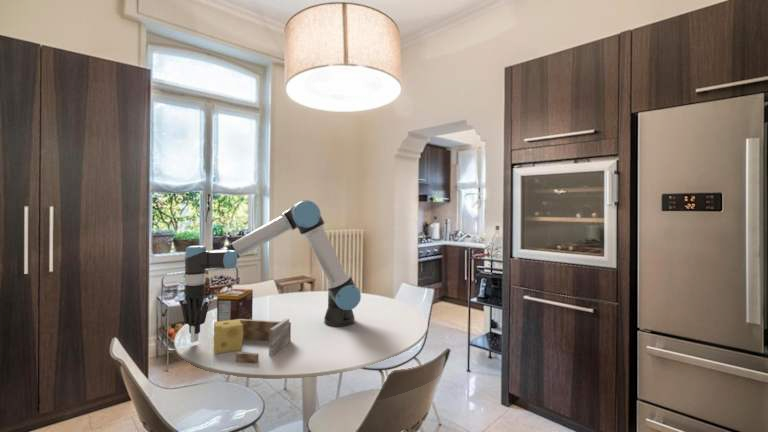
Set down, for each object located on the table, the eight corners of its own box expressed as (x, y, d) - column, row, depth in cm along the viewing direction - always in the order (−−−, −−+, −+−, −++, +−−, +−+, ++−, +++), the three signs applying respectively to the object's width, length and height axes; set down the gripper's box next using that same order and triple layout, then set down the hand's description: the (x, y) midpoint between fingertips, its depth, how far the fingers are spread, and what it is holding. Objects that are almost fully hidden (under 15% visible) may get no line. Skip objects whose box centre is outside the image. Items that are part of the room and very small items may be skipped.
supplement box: (252, 319, 181) (253, 289, 181) (237, 329, 166) (237, 295, 166) (233, 318, 182) (233, 288, 182) (216, 328, 167) (216, 295, 167)
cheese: (214, 354, 136) (214, 328, 136) (213, 345, 146) (213, 320, 146) (243, 350, 141) (243, 324, 141) (240, 341, 150) (240, 317, 150)
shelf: (290, 341, 151) (290, 317, 151) (262, 363, 128) (263, 336, 128) (237, 337, 155) (237, 314, 155) (201, 358, 132) (201, 331, 132)
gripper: (215, 282, 148) (214, 339, 148) (187, 281, 150) (186, 337, 150) (203, 286, 141) (202, 345, 141) (174, 284, 143) (173, 343, 143)
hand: (194, 341), depth 146 cm, fingers closed
